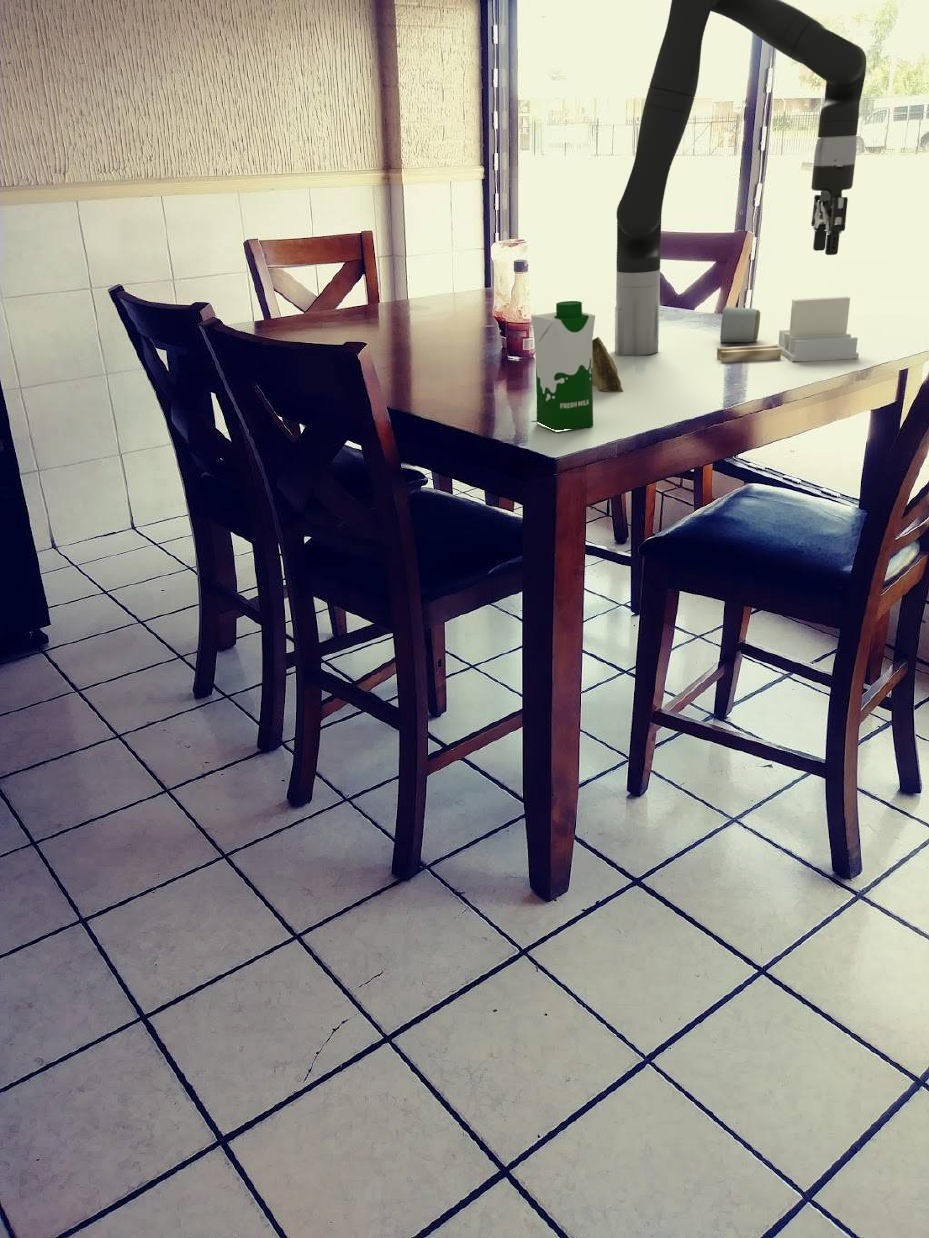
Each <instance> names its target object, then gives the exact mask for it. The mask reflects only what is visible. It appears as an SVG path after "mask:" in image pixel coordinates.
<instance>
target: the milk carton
mask: <svg viewBox="0 0 929 1238" xmlns="http://www.w3.org/2000/svg"><path fill="white" fill-rule="evenodd" d="M582 303H583V302H582V301H578V300H567V301H566V300H565V301H559V302H556V303H555V304H556V305H555V306H556V307H555V308H556V309H555V311H556V312H547V313H541V314H533V315H530V317H531V324H532V330H533V331H532V333H533V339H534V350H535V351H534V352H535V353H534V354H535V358H534V359H535V384H536V385H535V386H536V387H535V388H536V423H537V422H539V423H541V424H543V425H545V426H547V427H549V428H551V429H554V430H564V429H577V428H582V429H587V428H586V427H588V428H592V427H591V426H593V427H594V400H593V399H594V397H593V386H594V385H593V377H592V340H593V339H594V331H595V330H594V329H595V320H596V315H595V314H592V313H587V312H584V311H583V304H582ZM584 427H585V428H584ZM577 430H578V429H577Z"/></svg>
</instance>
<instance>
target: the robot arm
mask: <svg viewBox="0 0 929 1238" xmlns="http://www.w3.org/2000/svg"><path fill="white" fill-rule="evenodd" d="M670 3H671V4H670V8H669V9H670V10H669V15H668V20H667V24H666V28H665V29H666V30H665V33H664V36H663V38H662V43H661V45H660V48H659V52H658V55H657V59H656V62H655V65H654V69H653V73H652V75H651V79H650V83H649V87H648V89H647V94H646V98H645V102H644V105H643V109H642V114H641V118H640V125H639V130H638V136H637V137H638V138H637V145H636V153H635V159H634V162H633V166H632V169H631V171H630V175H629V177H628V181H627V184H626V185H625V189H624V192H623V194H622V197H621V199H620V200H619V202H618V205H617V207H616V230H617V231H616V282H615V283H616V286H615V287H616V288H615V289H616V290H615V291H616V296H615V297H616V299H615V300H616V302H615V303H616V304H615V305H616V306H615V307H614V308H615V309H614V351H615V353H616V355H618V356H645V355H646V356H647V355H653V354H655V353H657V352H659V334H660V333H659V331H660V329H659V327H660V293H661V292H660V291H661V288H660V287H661V284H660V283H661V255H662V254H661V253H662V251H661V249H662V248H661V246H662V245H661V242H662V240H661V239H662V211H663V206H664V205H663V203H664V200H665V198H664V197H665V193H666V187H667V183H668V178H669V173H670V170H671V166H672V163H673V161H674V158H675V156H676V155H677V154H676V153H677V152H678V150H679V146H680V144H681V140H682V139H683V135H684V132H685V131H686V128H687V124H688V122H689V118H690V115H691V111H692V107H693V105H694V102H695V96H696V95H697V89H698V84H699V78H700V77H699V76H700V67H701V56H702V55H701V54H702V45H703V39H704V35H705V34H704V33H705V30H706V26H707V23H708V20H709V17H710V14H711V12H712V13H715V14H718V15H721V16H723V17H725V18H728V19H730V20H731V21H733V22H734V23H737V24H739V25H741V26H743V27H744V28H746V29H747V30H748V31H750V32H751V33H753V34H754V35H756V37H759V38H760V39H761V40H763V41H764V42H765V43H766V44H768V45H770V46H771V47H772V48H774V49H776V50H777V51H779V52H780V53H781V54H783V55H785V56H787V57H788V58H790V59H792V60H793V61H795V62H797V63H800V64H802V65H804V66H805V67H806V68H807V69H808V70H810V71H812V72H813V73H814V74H816V75H817V76H818V77H820V78H822V80H824V81H826V82H825V90H824V92H825V93H824V100H823V101H824V103H823V105H822V107H821V110H820V113H819V119H818V130H817V140H816V145H815V150H814V158H813V170H812V175H811V176H812V178H811V190H812V191H816V192H820V194H819V193H818V194H815V195H814V198H813V199H814V201H813V209H812V216H811V223H810V225H811V227H812V228H813V231H814V237H813V244H812V250H814V251H817V252H818V251H825V252H824V253H825V255H827V256H834V255H837V254H838V251H839V243H840V235H841V234H842V232H845V229H846V220H847V219H846V218H847V209H848V201H849V199H848V197H847V196H845V197H844V196H843V191H847V190H850V189H852V188H853V186H854V185H853V183H854V175H855V166H856V157H857V149H858V147H857V143H858V142H857V139H858V137H857V135H858V127H859V126H858V125H859V117H860V104H861V103H860V102H861V99H862V93H863V89H864V85H865V78H866V69H867V56H866V54H865V51H864V50H863V48H862V47H860V46H859V45H857V44H855V43H853V42H851V41H850V40H848V39H846V38H844V37H843V36H840V35H839V34H837V33H835V32H833V31H831V30H829V29H828V28H826V27H825V26H824V25H823V24H822V23H820V22H819V21H818V20H816V19H815V18H813V17H811V16H810V15H808V14H807V13H805V12H803V11H802V10H800V9H798V8H797V7H795V6H793V5H791V4H790V3H787V2H785V1H783V0H671V2H670Z"/></svg>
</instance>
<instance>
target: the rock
mask: <svg viewBox="0 0 929 1238" xmlns="http://www.w3.org/2000/svg"><path fill="white" fill-rule="evenodd" d="M618 372H619V371H618V368H617V366H616V364H615V362H614V360H613V358H612V357H611V355H610V353H609V352H608V349H607V348H606V346H605V345H604V343H603V341H602V339H600V337H599V336H597V337H596V338H593V339H592V377H593V384H594V385H595V386H596V387H597V388H598V389H597V388H596V387H595V386H594V385H593V386H594V387H595V388H596V389H597V390H598V391H600V390H602V391H601V392H609V391H623V390H624V389H623V387H622V383H621V379H620V378H619V374H618ZM623 392H624V391H623Z"/></svg>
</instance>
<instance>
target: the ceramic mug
mask: <svg viewBox="0 0 929 1238" xmlns="http://www.w3.org/2000/svg"><path fill="white" fill-rule="evenodd" d="M760 321H761V311H760V310H759V309H756V308H751V307H749V308H747V307H734V306H724V307H723V310H722V317H721V325H720V336H719V337H720V338H719V339H720V343H754V342H756V341H757V340H758V337H759V330H760Z"/></svg>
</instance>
